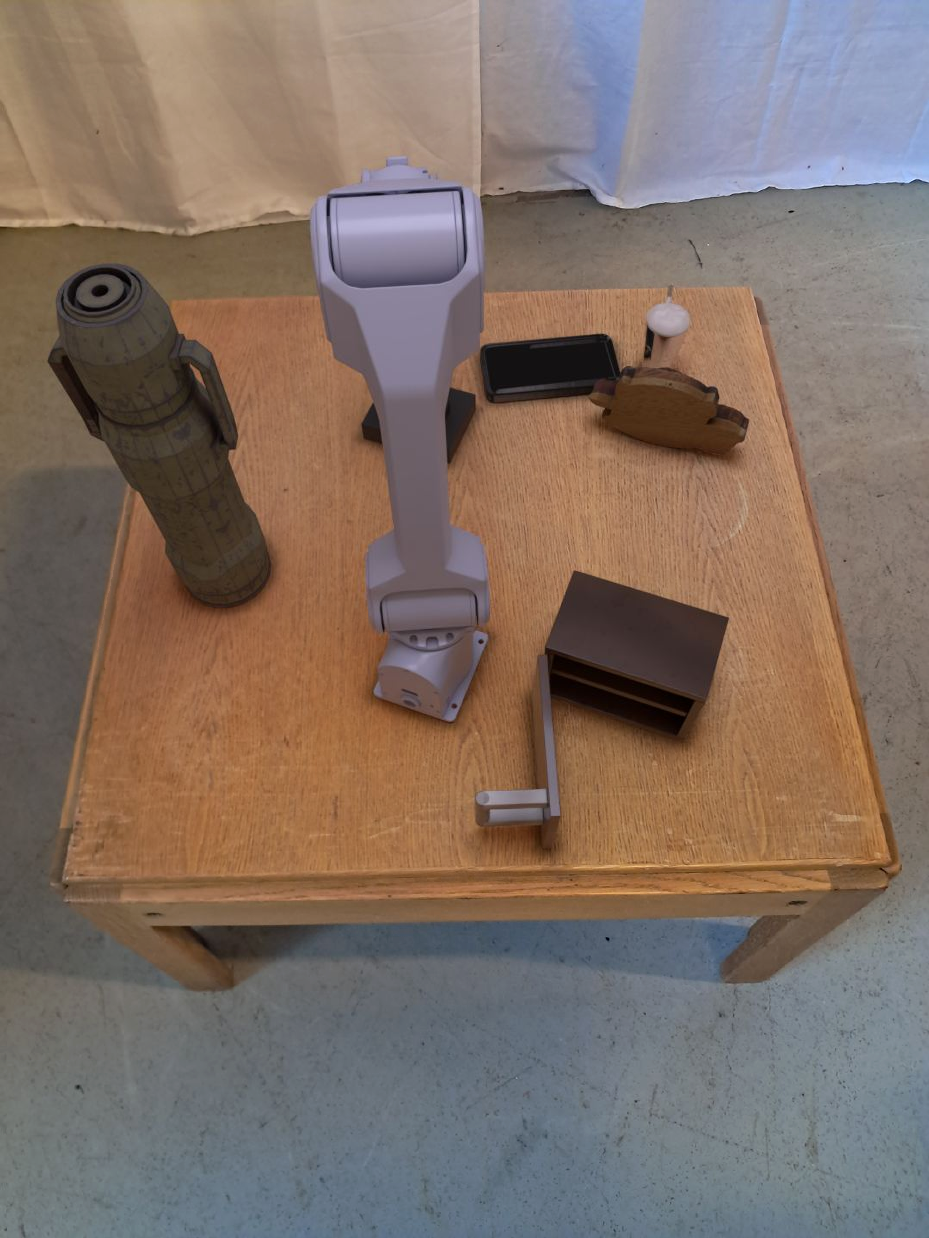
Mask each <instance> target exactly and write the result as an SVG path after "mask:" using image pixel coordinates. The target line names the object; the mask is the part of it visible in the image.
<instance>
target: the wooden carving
mask: <svg viewBox="0 0 929 1238" xmlns="http://www.w3.org/2000/svg"><path fill="white" fill-rule="evenodd" d="M588 395H589V396H588V399H589V401H590V402H591V403H592V404H593V405H595V406H596V407H598V408H603V410H602V412H601V417H600V418H601V420H603V421H605V422H606V423H607V424H609V425H610V426H612V427H614V428H616V429H617V430H619V431H621V432H622V433H624V434H627V435H629V436H631V437H633V438H635V439H637V440H640V441H643V442H646V443H649V444H653V445H657V446H662V447H666V448H667V447H668V448H675V449H676V448H677V449H689V448H693V449H699V450H702V451H704V452H706V453H708V454H712V455H716V456H726V454H727V453H729V451H730V450H731V449H732V448H734V447H735V446H737V444H740V443H743V442H744V441H745V439H746V436H747V431H748V428H749V424H750V419H749V418H748V417H746V416H745V415H744V413H743V412H742V411H740V410H738V409H736V408H734V407H732V406H728V405H726V404H723V403H719V402H720V393H719V389H718V387H717V386H714V385H710V386H707V385H706V384H705V383H703V382H702V381H700V380H698V379H696V378H694V377H692V376H689V375H687V374H685V373H683V372H681V371H680V370H677V369H674V368H673V369H672V368H669V367H663V368H649V367H642V366H640V367H639V366H638V367H633V366H631V365H626V366H624V367H623V368H622V370H620V375H619V379H618V382H616V381H611V380H604V379H602V380H599V381H597V382H596V383H595V385H594V388H593V391H592V393H591V394H588Z"/></svg>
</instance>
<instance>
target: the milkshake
mask: <svg viewBox="0 0 929 1238" xmlns="http://www.w3.org/2000/svg"><path fill="white" fill-rule="evenodd" d="M673 291H674V284H673V283H669V284H668V289H667V294H666V299H665V302H661V303H657V304H655V305H654V306H653V307H651V308H650V309H649V311H647V314H646V318H645V329H644V343H643V351H642V352H643V353H642V358H641V367H649V368H663V367H669V368H672V369H674V367H675V365H676V361H677V359H678V357H679V354H680V350H681V349H682V345H683V343H684V341H685V338H686V336H687V333H688V330H689V328H690V326H691V315H690V313H689V312H688V311H687V310H686V309H685V308H684V307H683V306H682V305H680V304H676V303H674V302H673V303H672V296H673Z"/></svg>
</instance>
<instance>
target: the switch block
mask: <svg viewBox="0 0 929 1238" xmlns="http://www.w3.org/2000/svg"><path fill="white" fill-rule="evenodd" d="M476 410H477V395H476V394H475V393H471V392H468V391H465V390H461V389H457V388H455V387H454V388H453V387H450V390H449V394H448V399H447V404H446V410H445V429H446V449H447V464H451V462H452V460H453V458H454V456H455V454H456V452H457V449H458V448H459V445H460V443H461V441H462V439H463V437H464V435H465V433H466V431H467V429H468V427H469V425H470V423H471V420H472V419H473V416H474V414H475V412H476ZM360 424H361V431H362V437H363V439H364V440H367V441H371V442H375V443H379V444H382V437H381V429H380V422H379V417H378V414H377V411H376V408H375V405H374V403H373V402H372V404H371V405H370V406H369V408H368V411H367V413H366V414H365V416H364V418H363V420H362V421H361V423H360ZM382 445H383V444H382Z"/></svg>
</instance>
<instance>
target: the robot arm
mask: <svg viewBox="0 0 929 1238" xmlns="http://www.w3.org/2000/svg"><path fill="white" fill-rule="evenodd" d="M385 165H386V166H385V167H383V168H381V169H371V170H368V169H367V168H361V174H360V182H358V183H354V184H349V185H345V186H341V187H337V188H336V187H335V188H332V189H330V190H329V191H328V193H327V195H319V196H318V197H317V199H316V201H315V202H314V203H313V204H312V206H311V208H310V213H309V226H310V227H309V233H310V234H309V235H310V247H311V256H312V264H313V265H312V266H313V271H314V276H315V284H316V289H317V292H318V299H319V303H320V309H321V314H322V321H323V326H324V331H325V336H326V340H327V341H328V342H329V343H331V347H332V348H331V349H332V355H333V358H334V360H336V361H338V362H340V363H341V364H343V365H345V366H347V367H348V368H350V369H352V370H354V371H356V372H358V373H359V374H361V375H362V376H363V378H364V381H365V384H366V386H367V389H368V392H369V394H370V395H369V396H370V397H371V400H372V403H374V405H375V408H376V411H377V414H378V417H379V422H380V429H381V437H382V450H383V451H382V452H383V458H384V467H385V472H386V480H387V481H386V482H387V489H388V495H389V496H388V497H389V503H390V509H391V515H392V516H391V518H392V525H393V529H391V530H390V531H388V532H387V533H385V534H383V535H381V536H379V537H378V538H377V539H375V540H374V541H372V542H370V543H369V544H368V545H367V546H368V548H367V551H366V553H365V554H364V556H365V557H364V573H365V574H364V575H365V590H366V591H365V595H366V606H367V615H368V622H369V626H370V628H371V629H372V630H373V631H375V633H376V634H377V635H383V634H385V633H386V634H387V644H386V647H385V649H384V652H383V654H382V656H381V659H380V660H379V663H378V665H377V669H376V673H377V677H378V679H377V682H376V684H375V686H374V688H373V695H374V696H375V697H376V698H378V699H381V700H384V701H387V702H390V703H393V704H394V705H395V704H396V705H399V706H401V707H404V708H407V709H410V710H413V711H416V712H418V713H422V714H425V715H427V716H430V717H432V718H436V719H438V720H441V721H444V722H447V723H453V722H455V721H456V719H457V717H458V715H459V712H460V709H461V707H462V705H463V702H464V700H465V697H466V694H467V692H468V690H469V687H470V685H471V683H472V680H473V678H474V675H475V673H476V671H477V668H478V665H479V663H480V661H481V658H482V656H483V653H484V651H485V648H486V646H487V643H488V641H489V635H488V634H487V633H486V632H483V631H480V630H476V626H477V627H478V628H485V626H486V624H487V623H488V622H489V621H490V620H491V596H490V595H491V594H490V584H489V583H490V580H489V568H488V561H487V556H486V555H487V554H486V547H485V545H484V544H483V543H482V539H481V537H480V536H479V535H476V534H475V533H472V532H470V531H467V530H465V529H463V528H460V527H458V526H456V525H454V524H452V523H451V512H450V509H451V508H450V493H449V491H450V489H449V471H448V469H449V467H448V463H447V449H446V429H445V410H446V404H447V399H448V394H449V390H450V388H451V384H452V380H453V375H454V371H455V369H456V368H457V367H458V366H460V365H461V364H462V363H464V362H466V361H467V360H468V359H469V358H471V357H472V356H474V355H475V354H476V353H478V352H480V349H481V334H482V333H483V332H484V330H485V285H486V253H485V251H486V250H485V232H484V219H483V218H484V217H483V209H482V202H481V198H480V197H479V196H478V195H477V194H476V193H475V192H474V191H473V189H472V187H471V186H466V187H465V186H463V184H462V183H461V182H460V181H452V180H445V179H444V180H443V179H440V177H439V173H438V172H436V173H435V175H434V173H428V171H429V170H428V166H420V167H419V166H418V167H413V166H411V165H409V158H408V156H406V155H399V156H398V155H397V156H387V157H386V158H385ZM479 642H482V643H479ZM453 706H456V708H453Z"/></svg>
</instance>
